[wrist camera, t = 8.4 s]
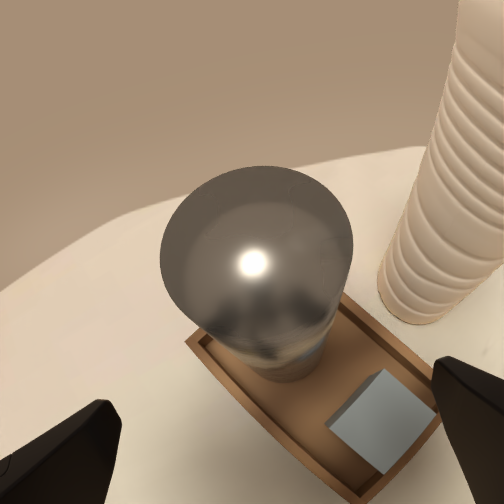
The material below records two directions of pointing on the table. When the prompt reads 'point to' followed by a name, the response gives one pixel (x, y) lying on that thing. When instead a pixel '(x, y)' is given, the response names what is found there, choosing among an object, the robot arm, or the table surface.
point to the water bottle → (455, 181)
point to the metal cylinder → (260, 266)
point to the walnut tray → (327, 397)
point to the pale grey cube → (381, 420)
